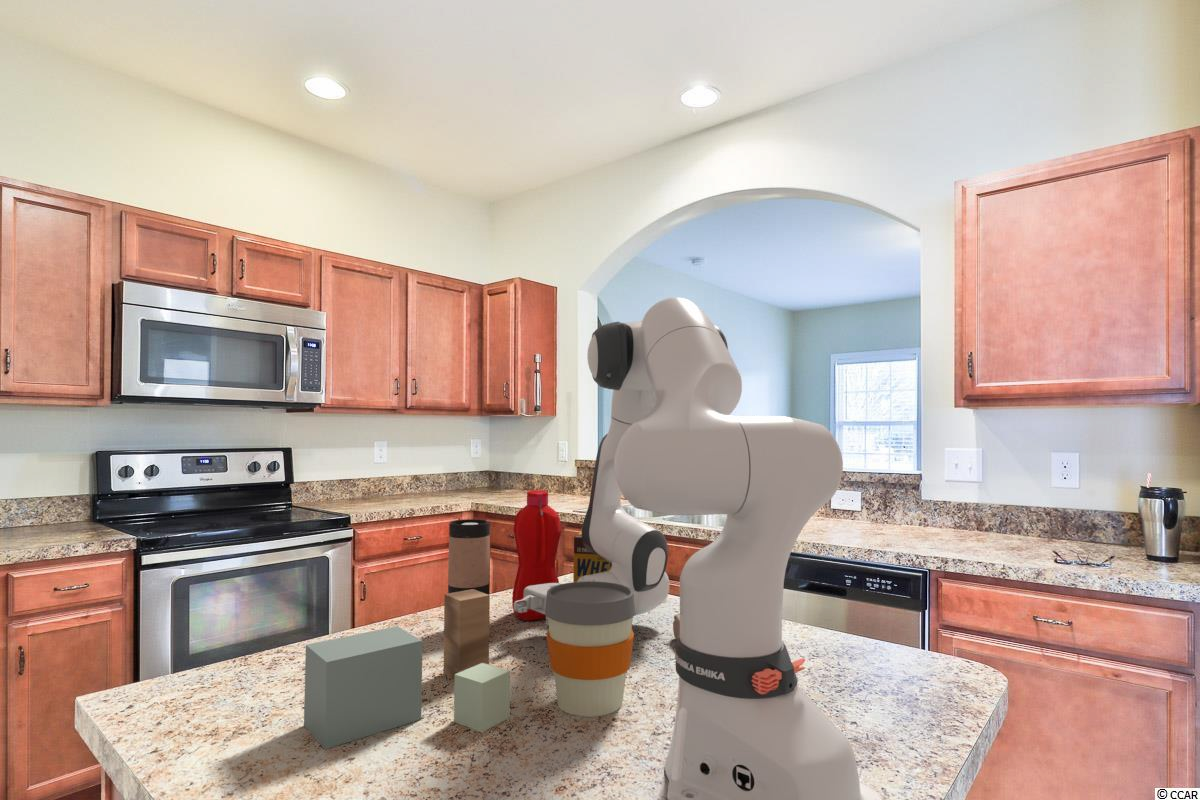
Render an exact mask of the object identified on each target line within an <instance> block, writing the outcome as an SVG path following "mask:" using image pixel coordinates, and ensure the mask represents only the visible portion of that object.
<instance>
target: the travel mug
mask: <svg viewBox="0 0 1200 800" xmlns="http://www.w3.org/2000/svg"><path fill="white" fill-rule="evenodd" d="M448 526H449V528H448V532H449V534H448V564H447V565H448V566H447V568H448V570H447V573H448V575H447V594H449V593H454V592H460V591H465V590H471V589H475V590H477V591H480V592H482V593H485V594H488V595H490V582H491V581H490V580H491V576H490V575H491V568H490V567H491V566H490V565H491V559H490V558H491V549H490V548H491V542H490V541H491V540H490V539H491V537H490V536H491V535H490V534H491V521H489V522H488V521H487V520H485V519H478V518H477V519H476V518H474V519H473V518H471V519H468V518H467V519H466V518H465V519H457V520H452V521H449V524H448Z"/></svg>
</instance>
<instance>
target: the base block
mask: <svg viewBox="0 0 1200 800" xmlns="http://www.w3.org/2000/svg"><path fill="white" fill-rule="evenodd" d="M304 661H305V663H304V664H305V665H304V672H305V673H304V703H303V704H304V705H303V706H304V709H303V712H304V713H303V726H304V728H305V729H307V731H308V732H309V733H310V735H312V737H314V739H315V740H316V741H317V742H318V743H319V744H320V745H321V747H322V748H323V749H324V750H327V749H331V748H334V747H337V746H340V745H344V744H346V743H350V742H352V741H356V740H359V739H362V738H366V737H368V736H373V735H376V734H378V733H381V732H384V731H385V732H386V731H388V730H392V729H395V728H398V727H402V726H405V725H407V724H411V723H415V722H417V721H420V720H421V721H422V701H423V700H422V697H423V696H422V695H423V694H422V691H423V689H422V688H423V640H422V639H420V638H419V637H417V636H415V635H414V634H411V633H410V632H408V631H406V630H405V629H403V628H401V627H399V626H391V627H386V628H380V629H376V630H371V631H367V632H362V633H357V634H352V635H347V636H342V637H338V638H332V639H327V640H324V641H323V640H322V641H318V642H313V643H308V644H305V660H304Z"/></svg>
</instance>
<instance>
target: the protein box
mask: <svg viewBox="0 0 1200 800" xmlns="http://www.w3.org/2000/svg"><path fill="white" fill-rule="evenodd" d="M611 567H612V563H610V562H609V561H607V560H606V559H604V558H602V557H600V556H598V555H596V554H594V553H592V552H590V551H589V550H587V549H586V547H585V546H584V544H583V541H582V530H581V531H580V532H579V533H577V534H576V535H575V536H574V537H573V574H572V575H573V582H577V581H578V579H579V578H581V577H582V576H585V575H591V574H596V573H601V572H606V571H609V570H610V569H611Z"/></svg>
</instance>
